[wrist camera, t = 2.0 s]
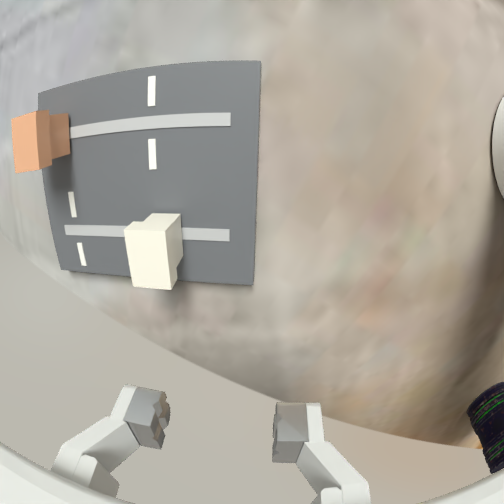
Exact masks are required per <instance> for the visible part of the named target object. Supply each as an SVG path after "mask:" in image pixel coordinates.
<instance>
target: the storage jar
mask: <svg viewBox="0 0 504 504" xmlns="http://www.w3.org/2000/svg"><path fill="white" fill-rule="evenodd" d="M467 414H468V416H469V417H470V421H471V424H472V427H473V429H474V431H475V433H476V435H478V437H479V439H480V442H481V444H482V447H483V454H484V456H485V460H486V463H488V467H489V468H490V473H491V474H493V473H495V472H497V471H499V470H501V469H503V468H504V382H501V383H498V384H496V385H494V386H492V387H490V388H489V389H487V390H486V391H485V392H483V393H482V394H481V395H480V396H478V397H477V398H476V399H475V400H474V401H473V403H472V404H471V405H470V406H469V408H468V410H467Z"/></svg>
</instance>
